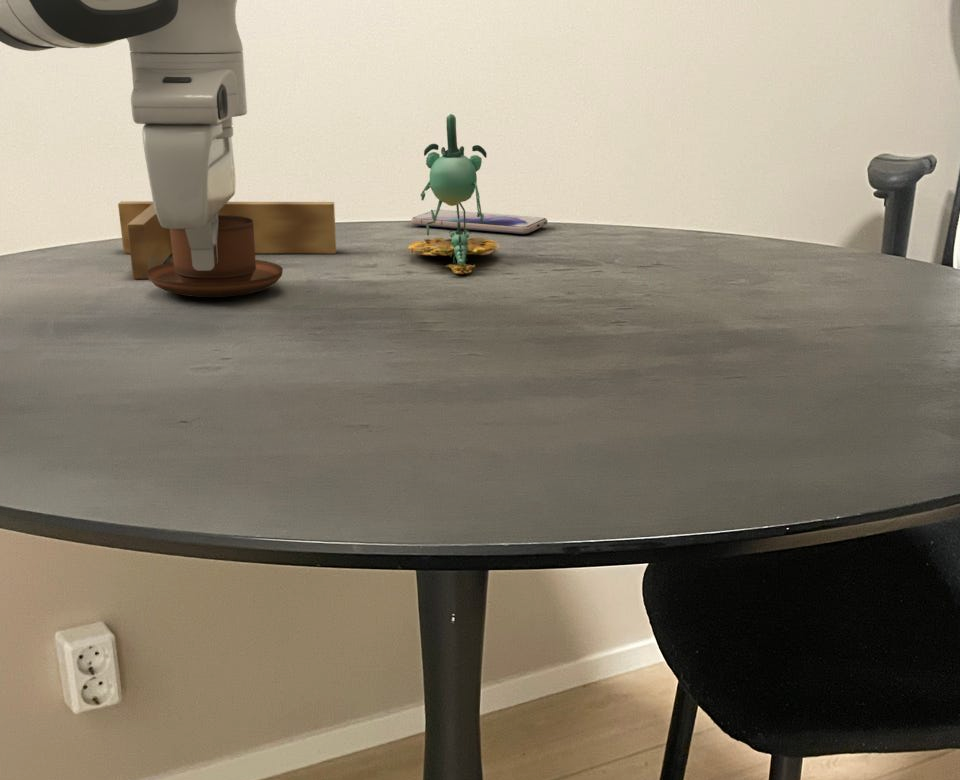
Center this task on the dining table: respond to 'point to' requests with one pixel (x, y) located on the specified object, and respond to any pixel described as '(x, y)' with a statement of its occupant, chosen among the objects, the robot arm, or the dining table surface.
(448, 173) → the green cartoon figurine
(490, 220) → the smartphone
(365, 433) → the dining table surface
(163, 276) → the cup and saucer
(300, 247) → the corner stop
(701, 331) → the dining table surface
